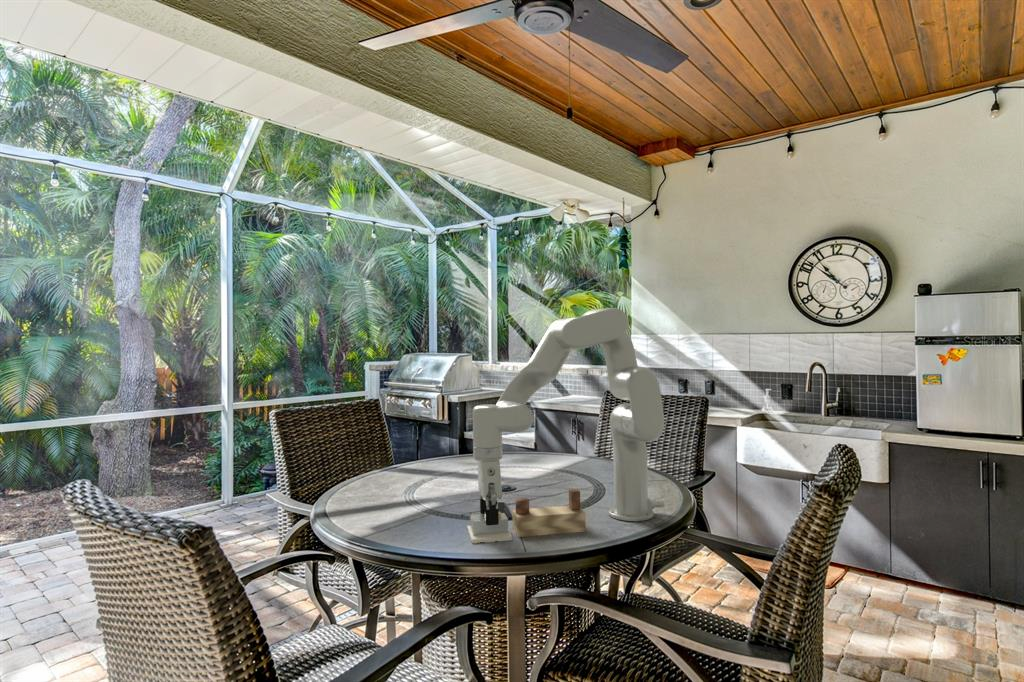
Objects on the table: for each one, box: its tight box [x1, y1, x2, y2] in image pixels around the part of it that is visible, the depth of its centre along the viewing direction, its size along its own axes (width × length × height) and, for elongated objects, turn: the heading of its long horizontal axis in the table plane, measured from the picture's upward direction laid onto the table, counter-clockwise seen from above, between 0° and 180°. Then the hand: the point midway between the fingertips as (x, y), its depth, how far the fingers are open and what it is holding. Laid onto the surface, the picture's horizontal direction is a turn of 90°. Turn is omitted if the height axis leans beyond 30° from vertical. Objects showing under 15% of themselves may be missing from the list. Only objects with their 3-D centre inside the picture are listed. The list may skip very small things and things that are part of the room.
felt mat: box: [466, 525, 513, 544], centre depth 149 cm, size 10×11×1 cm
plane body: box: [511, 488, 587, 538], centre depth 152 cm, size 18×7×10 cm, turn 101°
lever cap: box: [469, 511, 509, 536], centre depth 149 cm, size 9×6×4 cm, turn 101°
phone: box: [497, 501, 513, 520], centre depth 169 cm, size 8×1×15 cm
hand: (489, 518), depth 149 cm, fingers open, 9 cm apart
